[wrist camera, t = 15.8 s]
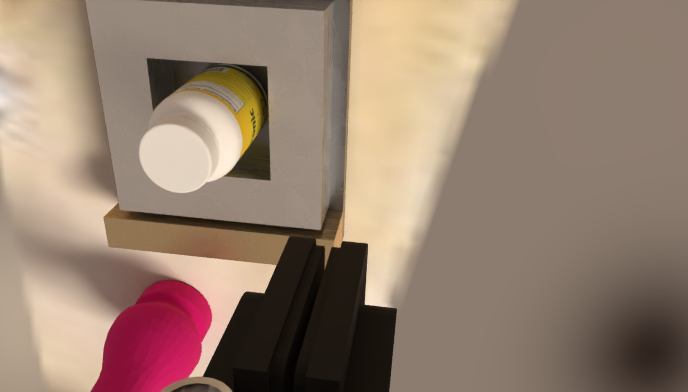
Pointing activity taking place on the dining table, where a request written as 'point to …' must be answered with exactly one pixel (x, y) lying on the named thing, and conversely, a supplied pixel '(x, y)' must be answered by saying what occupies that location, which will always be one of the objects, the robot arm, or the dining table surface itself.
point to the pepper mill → (155, 340)
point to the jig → (265, 150)
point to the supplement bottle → (203, 128)
